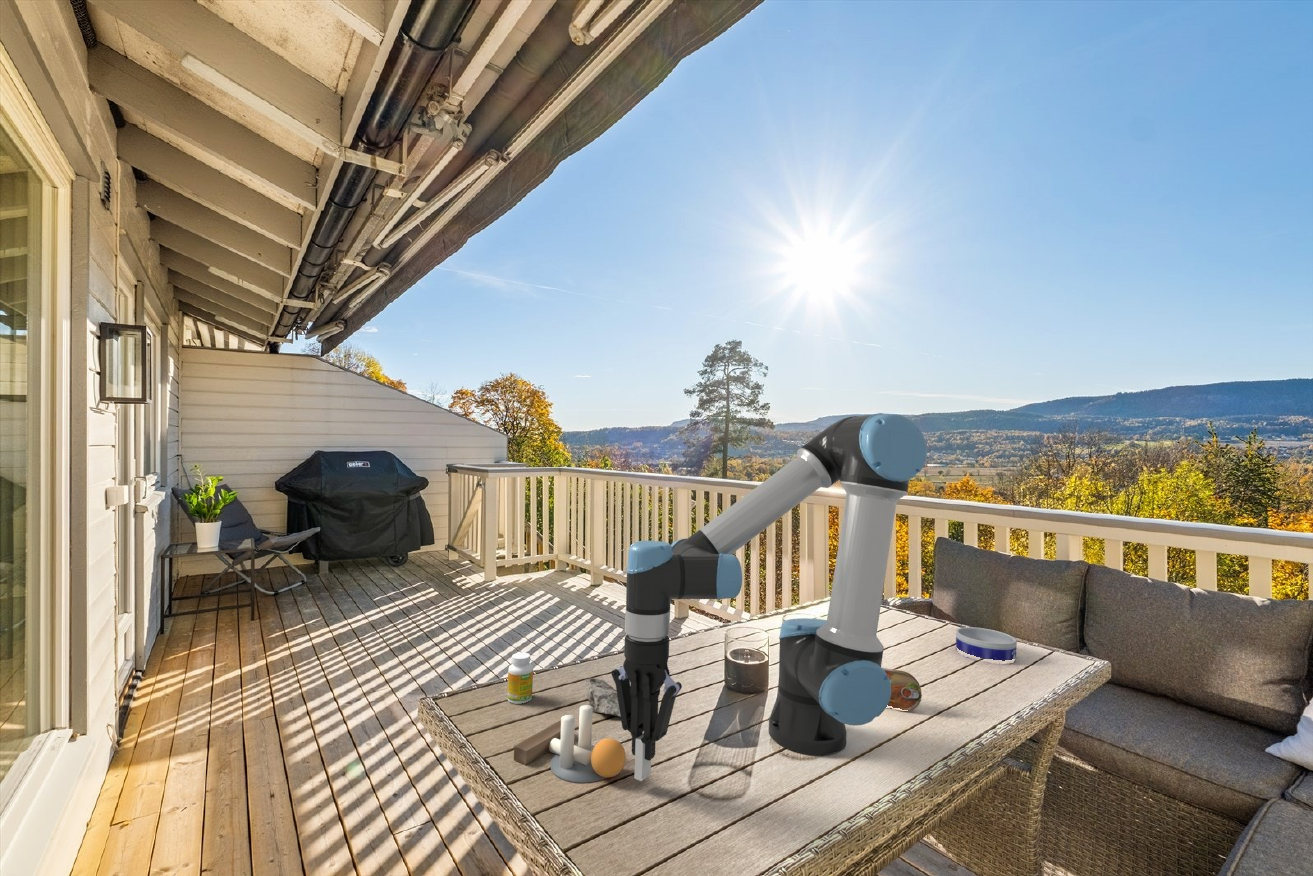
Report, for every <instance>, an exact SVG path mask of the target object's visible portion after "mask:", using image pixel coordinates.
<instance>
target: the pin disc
mask: <svg viewBox="0 0 1313 876" xmlns="http://www.w3.org/2000/svg"><path fill="white" fill-rule="evenodd" d="M594 747H595V745H591V751H592V750H593V748H594ZM549 764H550V770H551V772H552V774H553V775H554V776H556V777H557V778H559V779H560V780H562V781H566V782H569V783H576V784H588V783H594V782H599V781H602V780H605V779H607V778H606V777H602V776H600V775H598V774H597V773H596V772H595V770H594V769H593V767H592V764H591V763H590V764H589V765H587V766H585V765H583V764H580V763H578V762H575V761H573V767H571V768H569V769H563V768H561V767H560V755H557V754H555V755H554V756H553V757H552V758H551V760H550V763H549Z"/></svg>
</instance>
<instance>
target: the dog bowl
mask: <svg viewBox="0 0 1313 876" xmlns="http://www.w3.org/2000/svg"><path fill="white" fill-rule="evenodd" d="M955 636H956V637H955V641H956V642H955V648H956V647H957V648H958V649H959V650H961V651H963V652H965V653H967V654H970V655H974V656H976V657H980V658H984V659H993V660H1002V661H1005V660H1012V659H1015V658H1016V659H1017V644H1018V642H1017V639H1016V638H1015V637H1014V636H1012V635H1011V634H1010V635H1009V634H1007V633H1004V632H1002V631H998V630H994V629H990V628H983V627H975V626H973V627H972V626H971V627H970V626H968V627H967V626H964V627H959V628H957V629H956V630H955Z"/></svg>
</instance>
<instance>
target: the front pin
mask: <svg viewBox="0 0 1313 876" xmlns="http://www.w3.org/2000/svg"><path fill="white" fill-rule="evenodd" d="M549 752H550V753H553V754H555V755H556V754H557V755H560V740H559V739H557V738H554V739H552V740H551V742H550V745H549ZM591 754H592V751H589V750H586V749H584V748H581V747H578V745H575V744H574V760H573V761H575V762H578V763H580V764H583V765H585V766H587V765H589V764H590V763H591Z"/></svg>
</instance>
